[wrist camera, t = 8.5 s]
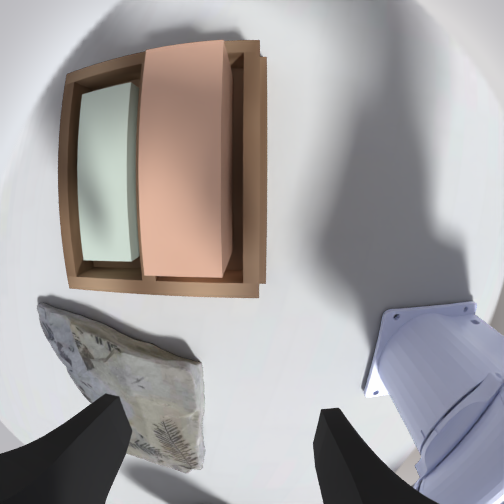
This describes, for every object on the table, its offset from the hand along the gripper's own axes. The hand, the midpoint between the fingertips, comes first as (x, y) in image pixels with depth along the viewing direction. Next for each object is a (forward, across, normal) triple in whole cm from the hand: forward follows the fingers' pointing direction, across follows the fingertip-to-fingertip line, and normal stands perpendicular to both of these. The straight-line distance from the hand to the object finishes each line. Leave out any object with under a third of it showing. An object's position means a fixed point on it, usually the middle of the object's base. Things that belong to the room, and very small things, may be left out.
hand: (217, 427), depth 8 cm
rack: (+10, +4, -9) cm, 14 cm away
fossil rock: (+11, +10, +10) cm, 18 cm away
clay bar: (+9, +2, -9) cm, 13 cm away
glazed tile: (+9, +7, -9) cm, 15 cm away
